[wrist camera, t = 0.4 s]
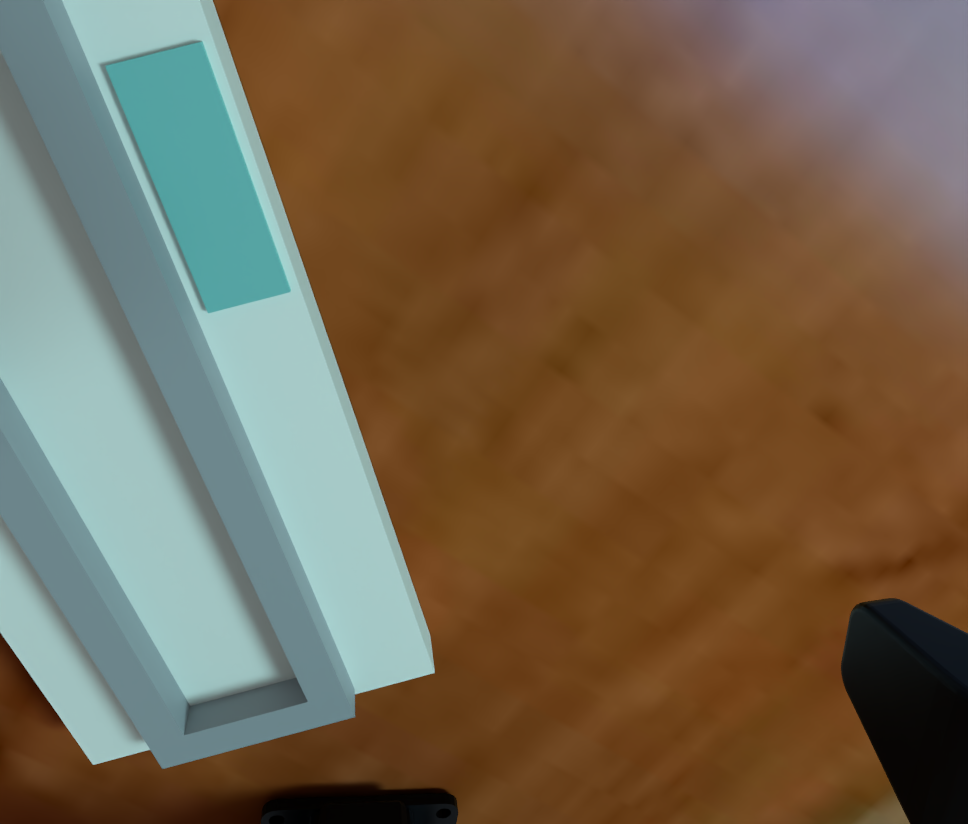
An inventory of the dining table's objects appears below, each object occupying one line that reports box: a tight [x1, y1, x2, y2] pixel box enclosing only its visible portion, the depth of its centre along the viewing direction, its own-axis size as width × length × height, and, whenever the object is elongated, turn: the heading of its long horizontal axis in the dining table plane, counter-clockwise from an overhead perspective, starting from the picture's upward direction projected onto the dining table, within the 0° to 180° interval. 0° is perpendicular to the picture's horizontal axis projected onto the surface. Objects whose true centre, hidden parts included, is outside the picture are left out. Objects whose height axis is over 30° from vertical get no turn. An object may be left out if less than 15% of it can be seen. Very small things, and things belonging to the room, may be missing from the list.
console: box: [0, 0, 435, 769], centre depth 17 cm, size 28×10×2 cm, turn 12°
